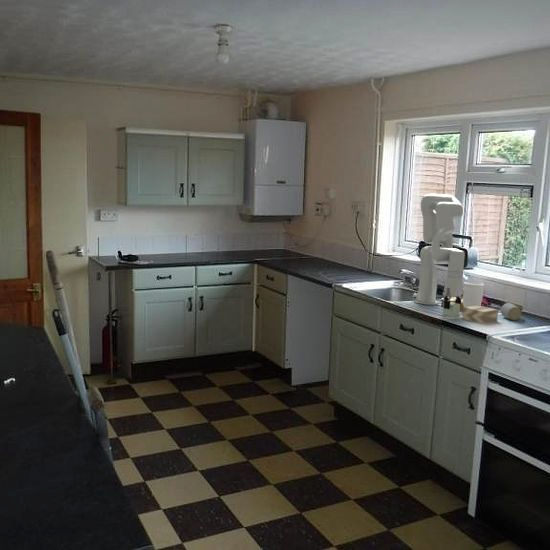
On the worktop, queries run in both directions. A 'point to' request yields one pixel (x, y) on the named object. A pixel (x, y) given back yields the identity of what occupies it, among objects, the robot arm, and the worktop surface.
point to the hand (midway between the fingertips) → (452, 307)
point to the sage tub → (452, 310)
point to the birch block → (480, 314)
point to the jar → (472, 293)
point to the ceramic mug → (511, 312)
